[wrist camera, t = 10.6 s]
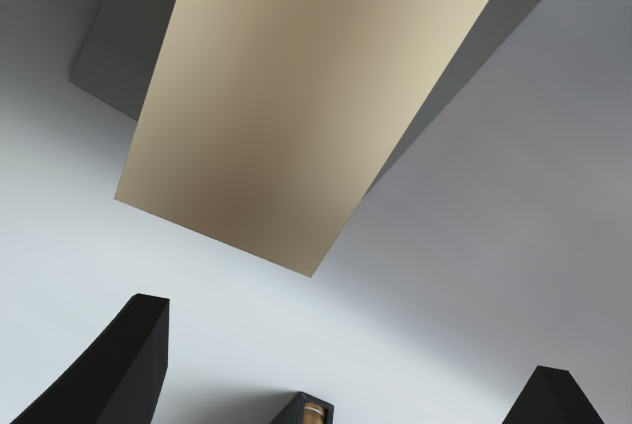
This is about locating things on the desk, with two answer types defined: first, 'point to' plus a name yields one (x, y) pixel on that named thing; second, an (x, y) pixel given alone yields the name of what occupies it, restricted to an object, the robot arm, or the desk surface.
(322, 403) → the ammunition clip
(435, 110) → the rubber mat
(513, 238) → the desk surface
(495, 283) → the desk surface
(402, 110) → the maple block
